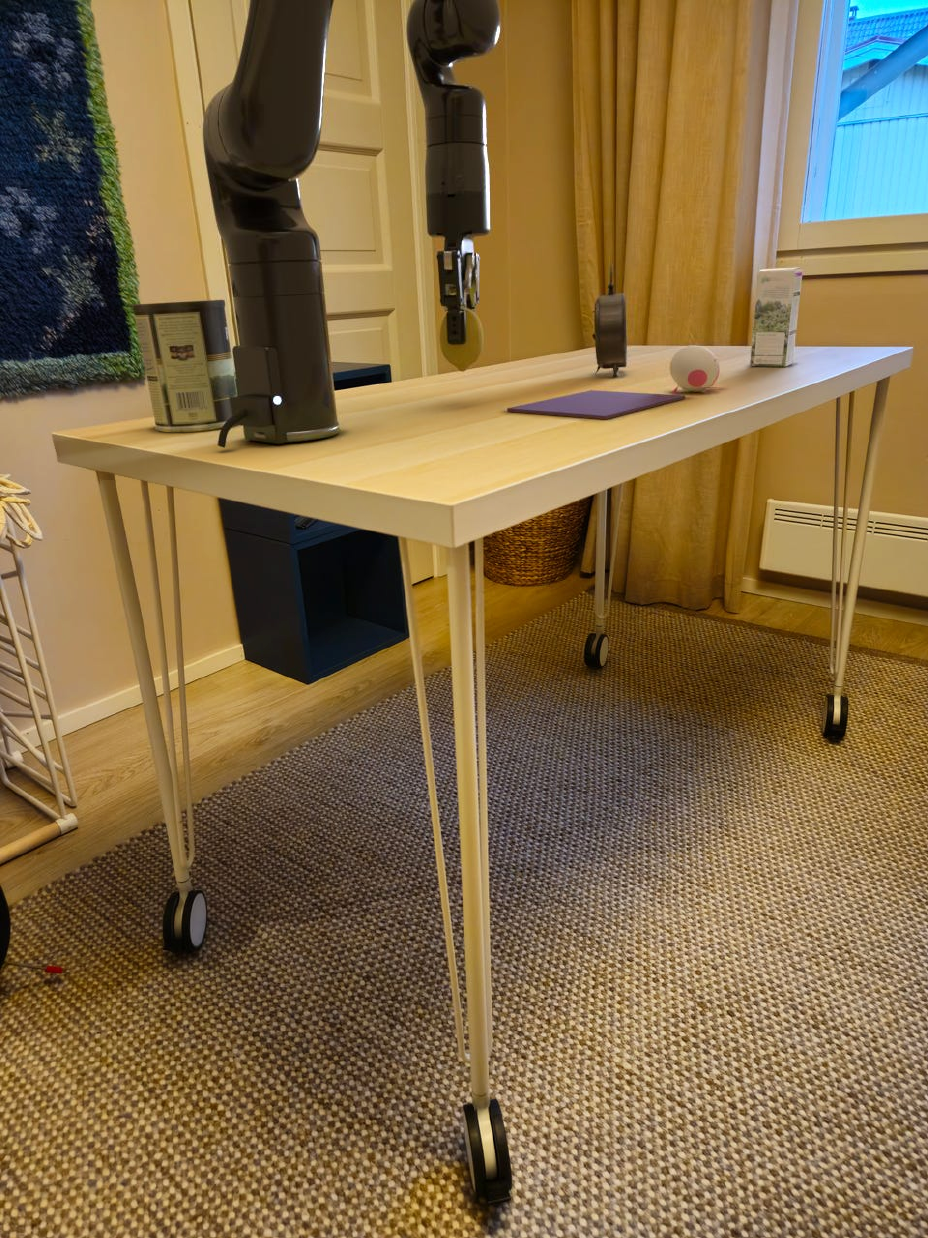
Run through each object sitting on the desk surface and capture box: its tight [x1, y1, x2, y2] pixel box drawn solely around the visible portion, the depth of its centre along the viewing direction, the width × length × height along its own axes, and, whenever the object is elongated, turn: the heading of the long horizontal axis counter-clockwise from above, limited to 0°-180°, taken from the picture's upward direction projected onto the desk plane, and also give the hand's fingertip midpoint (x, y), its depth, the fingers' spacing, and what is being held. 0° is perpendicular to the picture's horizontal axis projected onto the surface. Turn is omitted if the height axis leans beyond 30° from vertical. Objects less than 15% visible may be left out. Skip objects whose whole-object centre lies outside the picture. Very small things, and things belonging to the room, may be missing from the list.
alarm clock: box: [591, 263, 628, 378], centre depth 129 cm, size 11×5×16 cm, turn 168°
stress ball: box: [669, 345, 721, 394], centre depth 108 cm, size 8×8×7 cm
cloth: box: [506, 389, 686, 420], centre depth 101 cm, size 18×14×1 cm
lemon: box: [439, 308, 485, 373], centre depth 103 cm, size 6×6×8 cm
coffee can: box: [131, 299, 238, 433], centre depth 98 cm, size 10×10×14 cm
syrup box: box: [749, 266, 803, 367], centre depth 131 cm, size 6×6×14 cm
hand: (461, 342), depth 103 cm, fingers closed on lemon, 5 cm apart
